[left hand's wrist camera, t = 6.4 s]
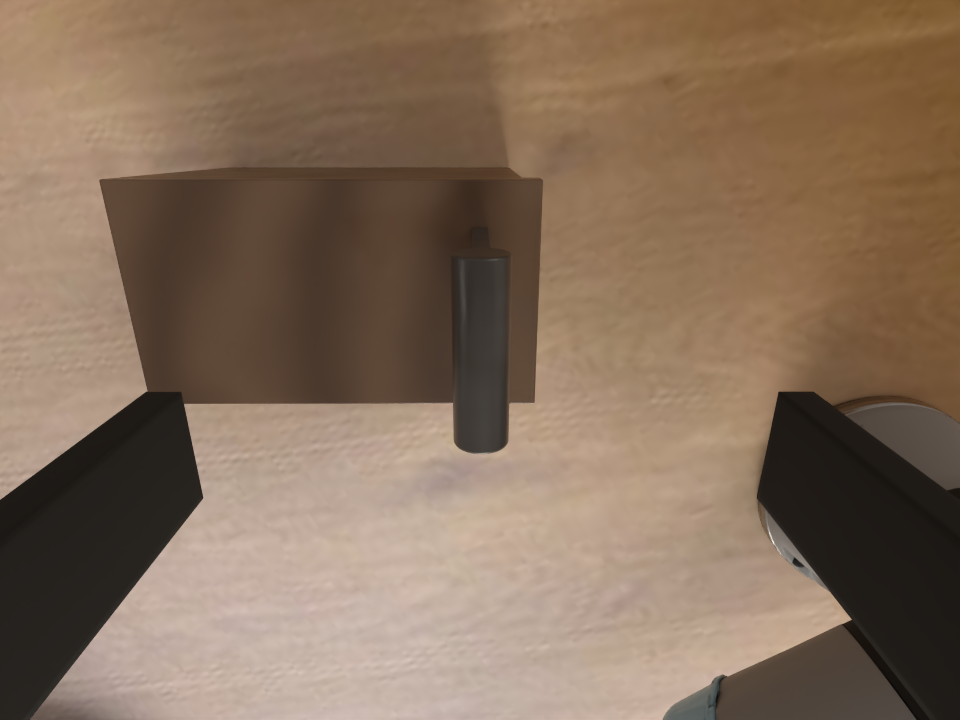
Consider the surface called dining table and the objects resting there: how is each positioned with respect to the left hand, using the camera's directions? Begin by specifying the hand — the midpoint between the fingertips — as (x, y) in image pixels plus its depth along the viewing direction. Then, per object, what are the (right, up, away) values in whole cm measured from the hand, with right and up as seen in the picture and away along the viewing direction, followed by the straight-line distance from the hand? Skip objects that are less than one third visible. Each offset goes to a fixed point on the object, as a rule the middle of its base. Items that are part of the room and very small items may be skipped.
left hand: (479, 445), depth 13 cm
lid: (-6, +5, +13) cm, 15 cm away
